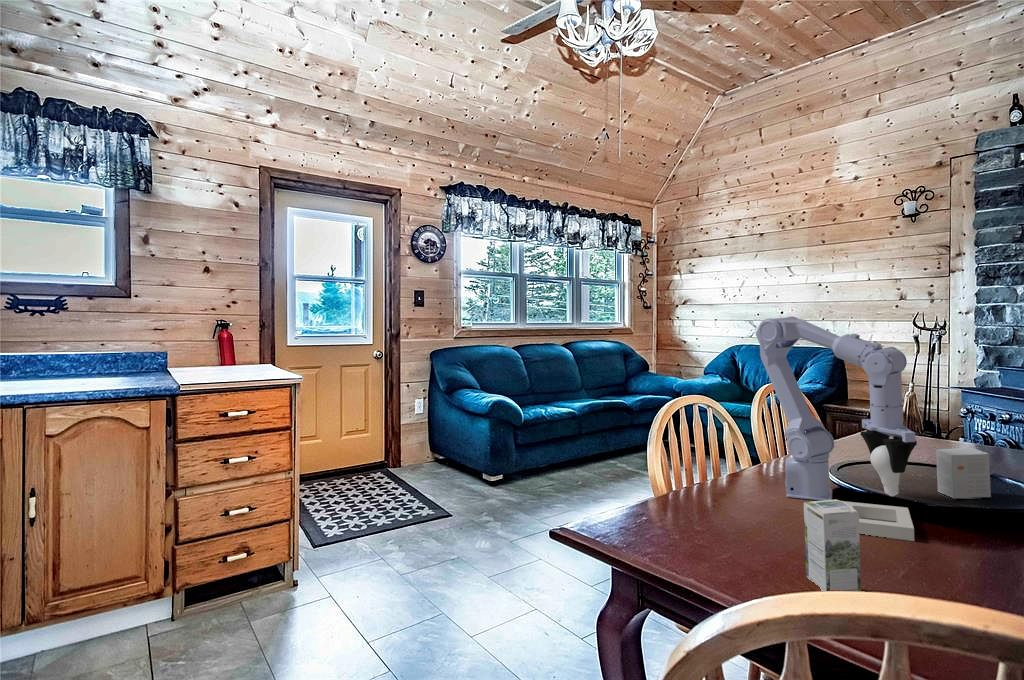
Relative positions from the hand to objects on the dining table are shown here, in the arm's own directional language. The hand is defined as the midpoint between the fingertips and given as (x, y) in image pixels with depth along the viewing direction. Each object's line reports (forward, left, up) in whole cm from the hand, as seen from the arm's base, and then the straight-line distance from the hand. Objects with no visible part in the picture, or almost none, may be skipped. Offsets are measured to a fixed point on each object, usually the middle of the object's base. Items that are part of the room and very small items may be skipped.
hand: (888, 468), depth 118 cm
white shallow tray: (-3, -7, -10) cm, 13 cm away
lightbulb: (+1, 0, -6) cm, 6 cm away
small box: (+15, +19, -11) cm, 26 cm away
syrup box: (-10, -40, -11) cm, 43 cm away
